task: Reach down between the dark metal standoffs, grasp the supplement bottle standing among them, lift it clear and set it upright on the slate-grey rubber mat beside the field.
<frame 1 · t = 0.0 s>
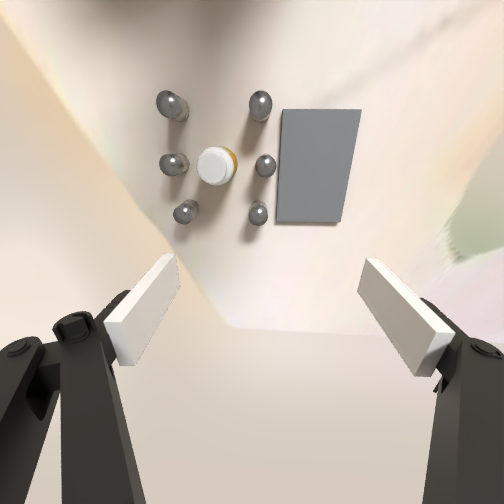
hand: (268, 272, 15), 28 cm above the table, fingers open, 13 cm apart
slate mat: (313, 170, 39), on the table
supplement bottle: (222, 163, 39), on the table
spacer field: (222, 163, 39), on the table
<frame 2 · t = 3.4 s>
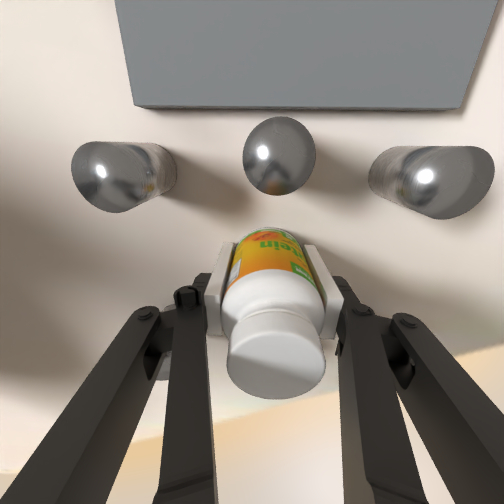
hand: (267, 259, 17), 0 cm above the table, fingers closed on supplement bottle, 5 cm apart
supplement bottle: (267, 256, 18), on the table, touching gripper
spacer field: (267, 257, 17), on the table
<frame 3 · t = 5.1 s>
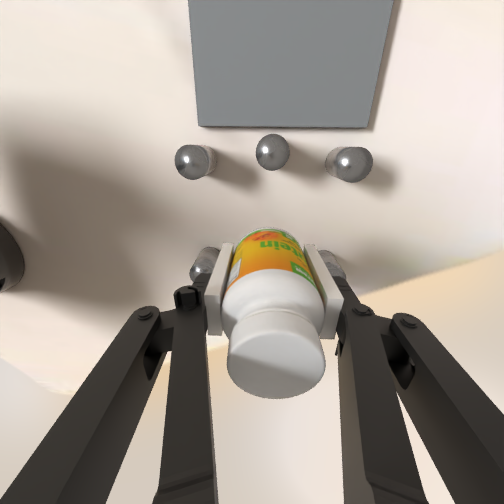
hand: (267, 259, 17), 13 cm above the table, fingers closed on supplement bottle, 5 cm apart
slate mat: (285, 57, 22), on the table
supplement bottle: (267, 256, 18), point 12 cm above the table, touching gripper
spacer field: (268, 214, 29), on the table
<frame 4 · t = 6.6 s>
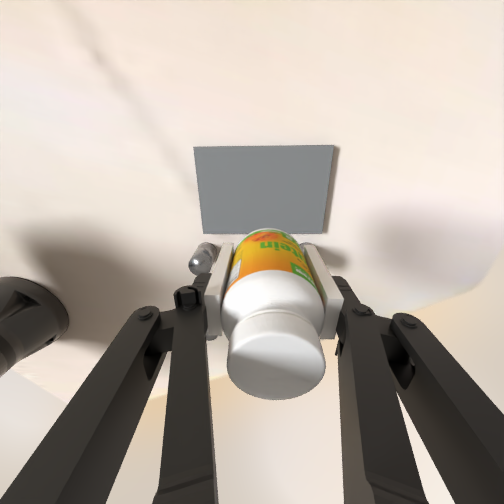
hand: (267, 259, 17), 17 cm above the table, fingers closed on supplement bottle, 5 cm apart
slate mat: (262, 192, 32), on the table
supplement bottle: (267, 257, 18), point 17 cm above the table, touching gripper
spacer field: (255, 284, 39), on the table
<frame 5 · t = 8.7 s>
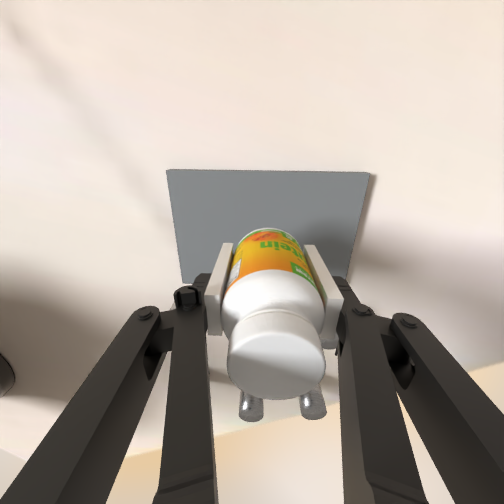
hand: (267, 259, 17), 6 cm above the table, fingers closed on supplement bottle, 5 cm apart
slate mat: (264, 231, 23), on the table
supplement bottle: (267, 256, 18), point 6 cm above the table, touching gripper
spacer field: (252, 342, 30), on the table
when the fingers open (2 cm above the table, at t = 10.2 s): supplement bottle stays where it is, resting on slate mat.
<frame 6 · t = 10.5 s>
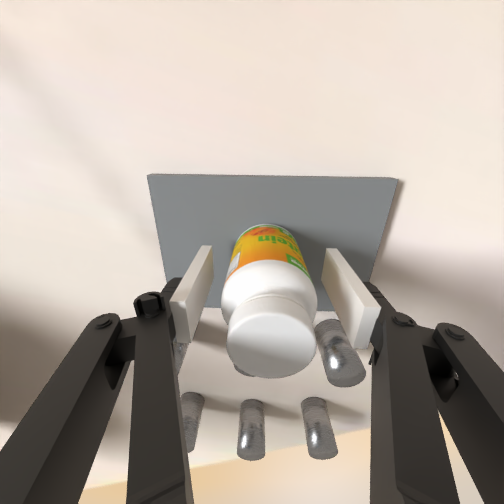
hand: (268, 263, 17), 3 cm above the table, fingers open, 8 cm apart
slate mat: (266, 247, 19), on the table
supplement bottle: (265, 252, 19), point 1 cm above the table, touching slate mat
spacer field: (253, 369, 26), on the table
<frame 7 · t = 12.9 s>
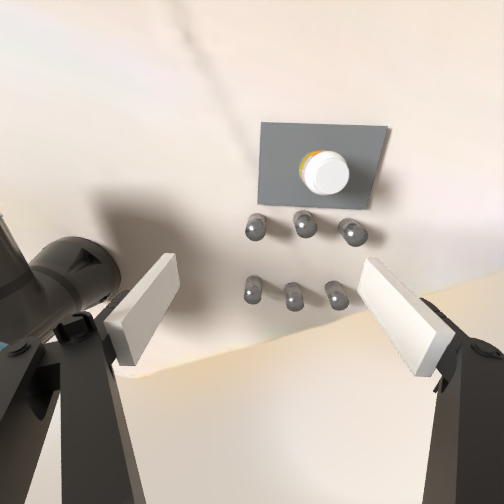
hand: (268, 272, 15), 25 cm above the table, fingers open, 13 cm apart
slate mat: (315, 168, 35), on the table
supplement bottle: (315, 168, 34), point 1 cm above the table, touching slate mat
spacer field: (297, 256, 42), on the table
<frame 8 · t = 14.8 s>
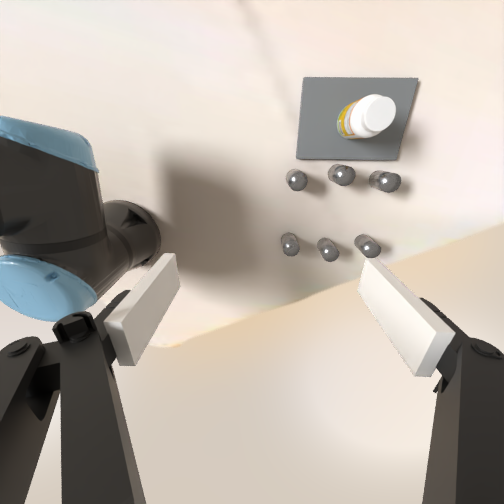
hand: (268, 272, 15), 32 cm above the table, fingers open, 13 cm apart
slate mat: (350, 121, 38), on the table
supplement bottle: (351, 121, 38), point 1 cm above the table, touching slate mat
spacer field: (329, 211, 45), on the table
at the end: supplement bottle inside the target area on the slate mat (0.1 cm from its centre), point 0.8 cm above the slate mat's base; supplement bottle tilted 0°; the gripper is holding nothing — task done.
